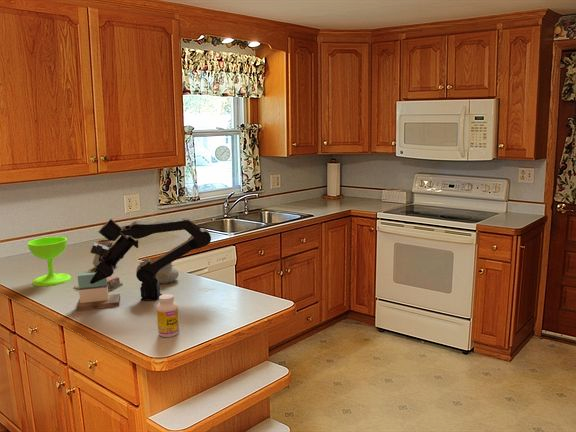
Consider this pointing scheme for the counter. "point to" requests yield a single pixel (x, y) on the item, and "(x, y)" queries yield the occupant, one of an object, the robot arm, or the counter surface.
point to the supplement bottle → (167, 316)
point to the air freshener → (167, 274)
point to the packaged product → (110, 283)
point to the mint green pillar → (85, 281)
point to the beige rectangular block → (93, 294)
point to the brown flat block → (100, 303)
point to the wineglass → (49, 259)
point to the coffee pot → (96, 258)
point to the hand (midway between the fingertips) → (91, 279)
